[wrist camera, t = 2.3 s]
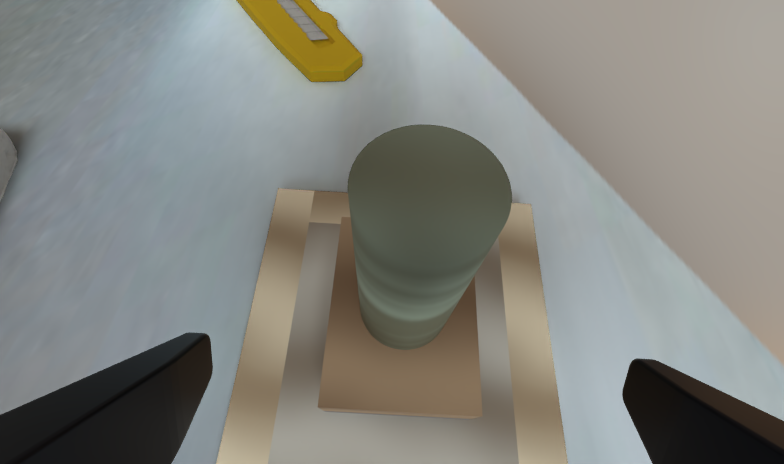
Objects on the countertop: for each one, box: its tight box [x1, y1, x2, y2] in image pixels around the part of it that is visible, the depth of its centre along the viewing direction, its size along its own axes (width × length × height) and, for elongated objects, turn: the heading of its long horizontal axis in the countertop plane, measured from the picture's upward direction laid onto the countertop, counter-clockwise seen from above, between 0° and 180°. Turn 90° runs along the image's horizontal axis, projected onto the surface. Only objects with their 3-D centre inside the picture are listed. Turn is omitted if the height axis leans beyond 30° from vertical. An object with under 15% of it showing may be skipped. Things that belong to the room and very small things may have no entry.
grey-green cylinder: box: [318, 125, 512, 420], centre depth 13 cm, size 8×6×11 cm
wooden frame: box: [216, 188, 568, 464], centre depth 17 cm, size 22×14×1 cm, turn 177°
